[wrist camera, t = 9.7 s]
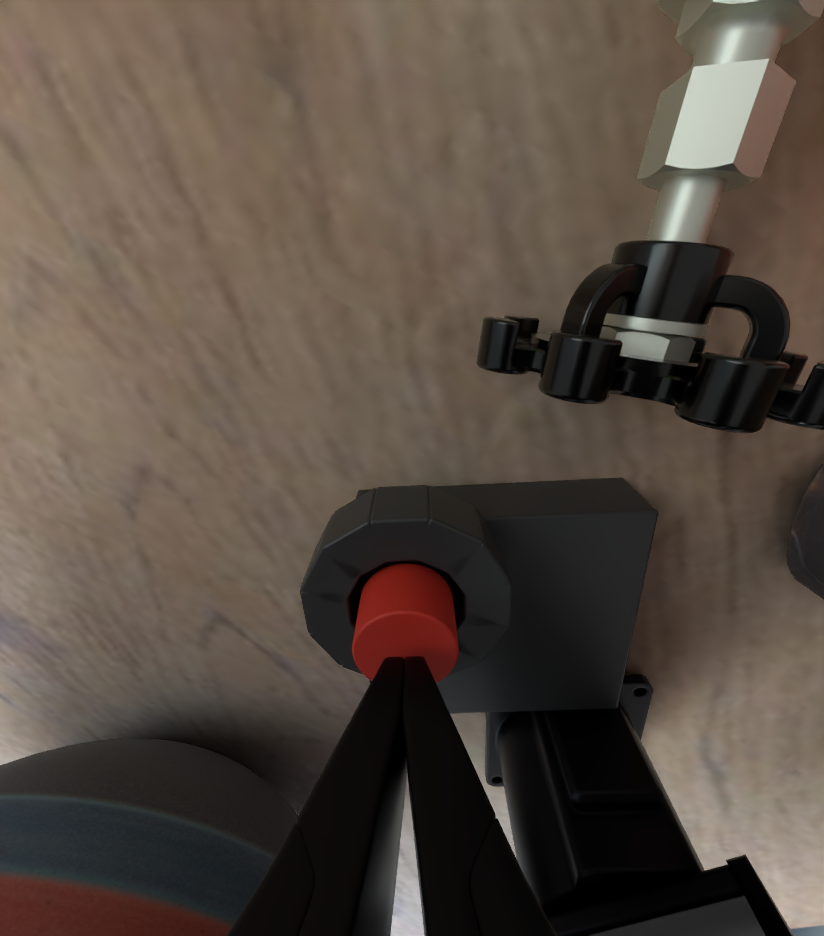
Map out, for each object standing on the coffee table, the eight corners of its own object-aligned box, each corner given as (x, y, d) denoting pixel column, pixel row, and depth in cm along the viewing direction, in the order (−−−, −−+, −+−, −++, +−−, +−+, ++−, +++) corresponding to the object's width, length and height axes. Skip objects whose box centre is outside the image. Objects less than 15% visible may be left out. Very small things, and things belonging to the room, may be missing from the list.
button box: (593, 658, 17) (643, 763, 13) (353, 665, 17) (336, 771, 13) (628, 443, 13) (713, 505, 9) (321, 458, 13) (284, 524, 10)
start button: (453, 632, 11) (459, 690, 10) (366, 635, 11) (357, 692, 10) (452, 559, 10) (459, 610, 9) (356, 563, 10) (345, 614, 9)
